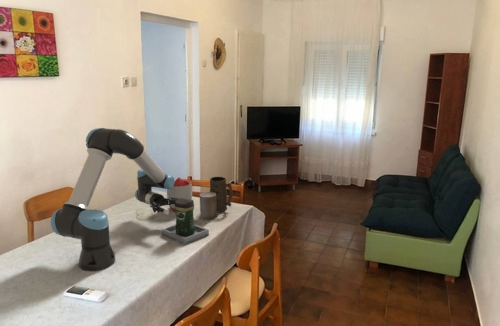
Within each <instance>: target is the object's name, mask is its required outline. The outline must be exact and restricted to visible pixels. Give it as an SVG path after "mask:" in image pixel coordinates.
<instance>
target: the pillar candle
mask: <svg viewBox="0 0 500 326" xmlns="http://www.w3.org/2000/svg"><path fill="white" fill-rule="evenodd" d="M216 205H217V204H216V193H213V192H210V191H208V192H207V191H205V192H202V193H200V194H199V209H200V210H199V211H200V213H199V215H200V218H201V219H202V220H207V221H208V220H214V219H216V218H217V217H218V215H217V214H218V212H217V206H216Z"/></svg>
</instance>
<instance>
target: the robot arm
mask: <svg viewBox="0 0 500 326" xmlns="http://www.w3.org/2000/svg"><path fill="white" fill-rule="evenodd" d="M85 142H86V143H85V145H86V148H87V149H86V152H87V153H88V155H87V157H86V160H85V162H84V164H83V166H82V169H81V170H80V173H79V177H78V178H77V181H76V184H75V185H74V188H73V191H72V193H71V195H70V197H69V199H68V201H66V202H64V203H63V205H62V207H61V208H58V209H56V210H55V211H54V212H53V213H52V215H51V218H50V226H51V230H52V231H53V232H54V233H55V234H56V235H59V236H62V237H64V238H65V237H67V238H72V239H76V240H80V242H81V245H80V246H81V250H80V254H79V258H78V266H79V268H80V269H81V270H84V271H88V272H89V271H92V272H93V271H100V270H104V269H107V268H108V267H110V266H112V265H113V264H114V263H115V262H116V255H115V252H114V250H113V248H112V246H111V244H110V243H111V240H110V226H109V220H108V219H109V218H108V217H109V216H108V215H107V213H106V212H105V211H103V210H101V209H95V208H94V209H89V205H90V202H91V201H92V197H93V195H94V193H95V190H96V187H97V185H98V183H99V179H100V178H101V176H102V174H103V170H104V168H105V165H106V164H107V162H108V161H109V160H111V159H112V157H113V155H114V154H119V155H123V156H125V157H126V158H127V159H128V160H132V161H133V162H134V163H135V164H136V165H137V166H138V167H139V168H140V169H138V170H137V172H136V173H137V174H136V175H137V177H136V180H137V190H135V193H134V196H135V199H136V200H137V201H139V202H140V203H144V204H147V205H149V207H150V208H151V209H152V211H153V213H156V212H157V214H160V213H163V214H166V215H169V214H170V209H169V208H166V207H164V206H169V205H171V204H175V201H176V200H177V199H179V198H173V197H169V199H167V197H164V195H162V193H158V192H156V191H152V190H153V189H152V188H156V189H157V188H158V189H164V190H167V189H171V188H172V187H173V186H174V182H175V181H176V179H175V177H174V176H173V175H170V174H167V173H165V172H164V171H163V169H162V168H161V167H160V166H159V165H158V163H156V161H155V160H154V158H152V157H151V156H150V154H149V153H148V152H147V151H146V150H145V146H144V144H142V143H141V141H140V140H139V139H138V138H137V137H135V135H133V134H131V133H130V132H128V131H126V130H124V129H118V128H117V129H116V128H106V127H99V128H98V127H97V128H93V129H91V130H90V131H89V132H88V134H87V135H86V138H85ZM182 199H183V198H182ZM168 201H169V204H168Z"/></svg>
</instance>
